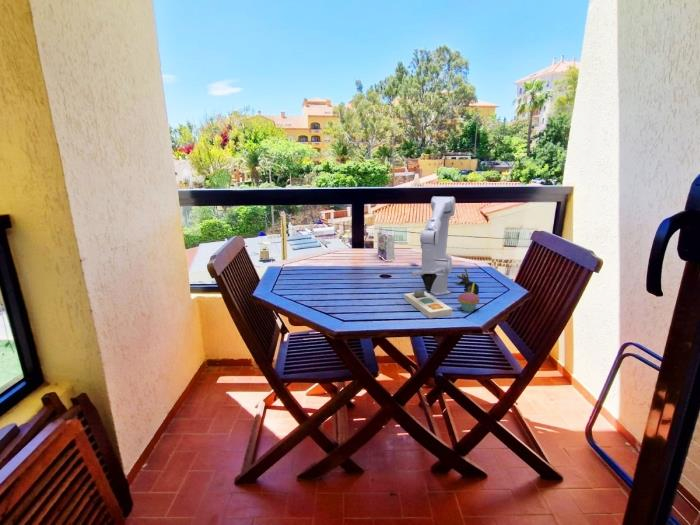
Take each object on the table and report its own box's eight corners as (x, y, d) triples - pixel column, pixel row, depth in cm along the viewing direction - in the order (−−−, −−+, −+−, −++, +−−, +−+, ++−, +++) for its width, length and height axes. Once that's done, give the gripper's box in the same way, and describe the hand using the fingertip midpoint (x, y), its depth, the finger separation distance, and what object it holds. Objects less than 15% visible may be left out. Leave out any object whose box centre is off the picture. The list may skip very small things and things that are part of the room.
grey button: (412, 296, 173) (412, 291, 172) (421, 295, 174) (421, 289, 174) (417, 299, 169) (417, 294, 168) (426, 298, 170) (426, 292, 170)
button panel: (404, 299, 175) (404, 293, 174) (424, 296, 178) (424, 291, 177) (429, 318, 154) (429, 312, 153) (452, 314, 157) (452, 308, 156)
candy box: (377, 256, 249) (377, 231, 245) (385, 256, 251) (385, 230, 247) (385, 262, 237) (385, 235, 232) (394, 261, 238) (394, 234, 234)
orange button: (427, 310, 161) (427, 304, 160) (437, 308, 162) (437, 303, 161) (433, 314, 157) (433, 308, 156) (442, 312, 158) (443, 306, 157)
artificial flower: (460, 299, 177) (455, 278, 176) (459, 288, 198) (454, 270, 198) (480, 295, 174) (475, 273, 174) (476, 284, 196) (472, 265, 195)
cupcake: (474, 305, 166) (475, 278, 162) (482, 312, 157) (484, 284, 154) (454, 306, 165) (455, 279, 162) (462, 314, 157) (463, 285, 154)
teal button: (419, 304, 167) (419, 298, 166) (428, 303, 168) (429, 297, 168) (424, 308, 163) (424, 302, 162) (434, 306, 164) (434, 300, 164)
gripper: (417, 263, 154) (417, 296, 158) (449, 259, 158) (448, 291, 162) (409, 259, 160) (409, 290, 164) (440, 255, 165) (439, 286, 168)
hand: (428, 290), depth 163 cm, fingers closed
